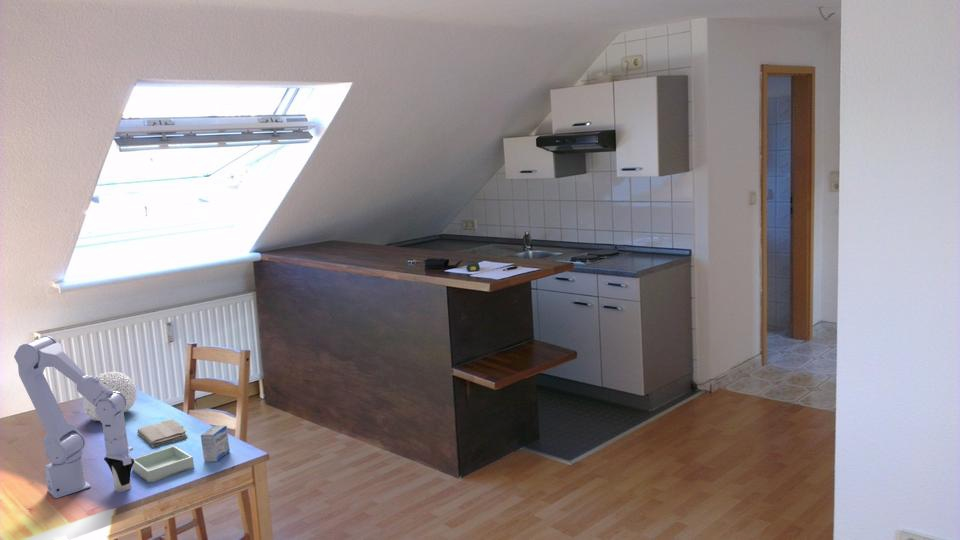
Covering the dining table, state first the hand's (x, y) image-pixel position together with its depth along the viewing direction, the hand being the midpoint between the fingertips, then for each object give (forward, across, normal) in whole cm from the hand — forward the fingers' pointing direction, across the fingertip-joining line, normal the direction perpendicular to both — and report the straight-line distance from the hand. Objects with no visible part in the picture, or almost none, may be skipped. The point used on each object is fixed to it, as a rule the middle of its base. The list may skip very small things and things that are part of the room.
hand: (122, 482), depth 224 cm
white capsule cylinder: (+2, 0, 0) cm, 2 cm away
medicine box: (+2, 0, -28) cm, 28 cm away
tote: (+2, +4, -13) cm, 14 cm away
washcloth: (+3, +32, -24) cm, 40 cm away
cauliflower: (+2, +66, -20) cm, 69 cm away
